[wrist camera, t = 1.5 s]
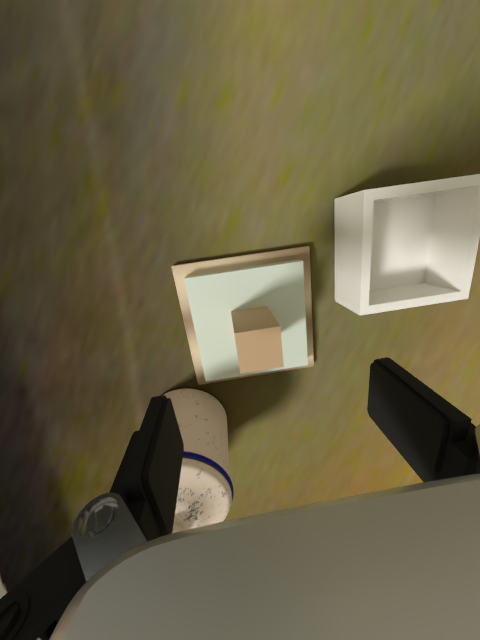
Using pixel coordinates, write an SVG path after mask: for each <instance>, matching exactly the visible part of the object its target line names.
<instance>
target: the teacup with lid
mask: <svg viewBox="0 0 480 640" xmlns="http://www.w3.org/2000/svg"><path fill="white" fill-rule="evenodd" d="M164 395H165V396H166V397H167V398H170V399H171V401H172V405H173V408H174V412H175V415H176V419H177V422H178V426H179V429H180V433H181V436H182V440H183V444H184V452H183V459H182V467H181V474H180V481H179V488H178V495H177V503H176V510H175V517H174V524H173V531H172V533H175V532H179V531H183V530H187V529H191V528H196V527H201V526H205V525H210V524H214V523H219V522H223V521H224V519H225V518H226V516H227V514H228V512H229V510H230V507H231V504H232V500H233V485H232V482H231V479H230V474H229V451H228V429H227V416H226V412H225V410H224V408H223V406H222V405H221V403H220V402H219V401H218V400H217V399H216V398H215V397H213V396H212V395H210V394H208V393H206V392H204V391H201V390H197V389H187V388H186V389H177V390H173V391H170V392H168V393H166V394H164ZM162 396H163V395H162Z"/></svg>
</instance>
